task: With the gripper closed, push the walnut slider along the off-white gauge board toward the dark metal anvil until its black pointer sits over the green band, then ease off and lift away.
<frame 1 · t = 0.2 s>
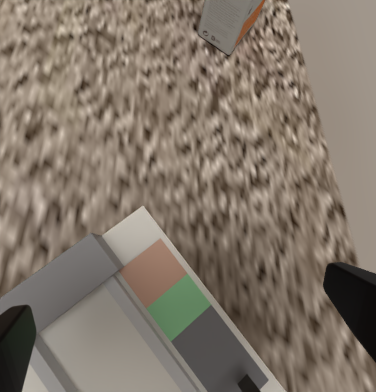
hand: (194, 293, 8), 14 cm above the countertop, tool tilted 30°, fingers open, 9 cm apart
gauge base: (143, 356, 20), on the countertop
skincare box: (227, 30, 28), on the countertop
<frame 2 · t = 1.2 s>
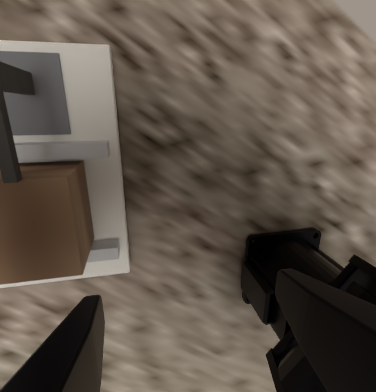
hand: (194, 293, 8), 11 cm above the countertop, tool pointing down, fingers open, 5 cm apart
slider: (31, 170, 12), point 4 cm above the countertop, slide at 0.0 cm
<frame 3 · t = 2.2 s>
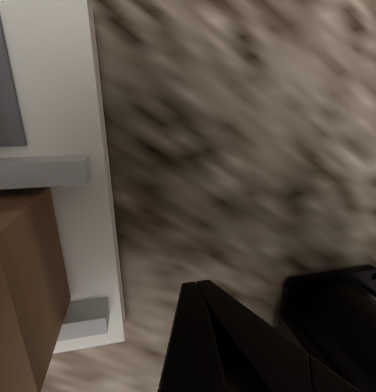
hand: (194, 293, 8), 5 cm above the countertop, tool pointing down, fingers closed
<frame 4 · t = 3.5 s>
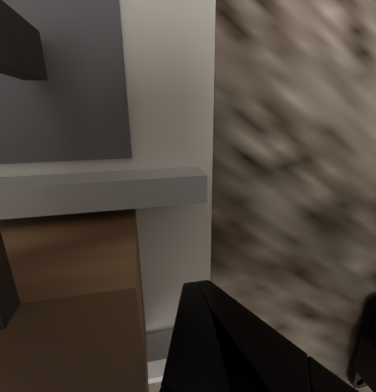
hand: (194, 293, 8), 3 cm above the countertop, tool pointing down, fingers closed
slider: (41, 248, 5), point 4 cm above the countertop, slide at 0.5 cm, touching gripper
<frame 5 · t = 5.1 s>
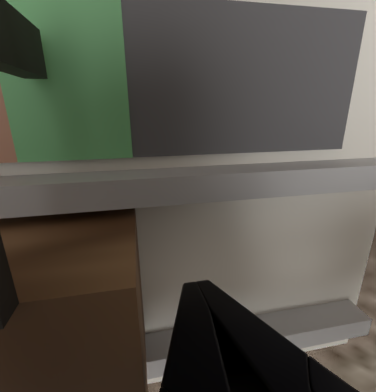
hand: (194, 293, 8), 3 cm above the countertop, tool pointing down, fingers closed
gauge base: (138, 214, 10), on the countertop
slider: (40, 247, 5), point 4 cm above the countertop, slide at 7.5 cm, touching gripper
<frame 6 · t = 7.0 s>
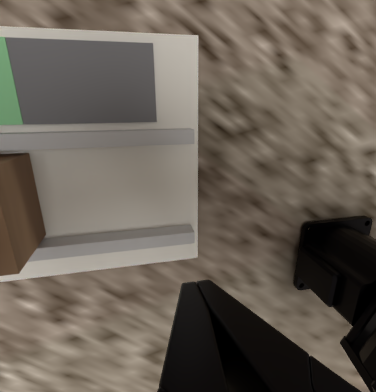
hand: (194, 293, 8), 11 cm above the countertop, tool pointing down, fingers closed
gauge base: (43, 164, 16), on the countertop
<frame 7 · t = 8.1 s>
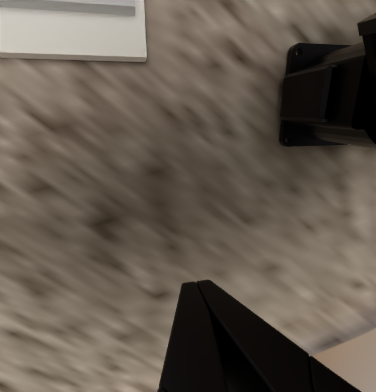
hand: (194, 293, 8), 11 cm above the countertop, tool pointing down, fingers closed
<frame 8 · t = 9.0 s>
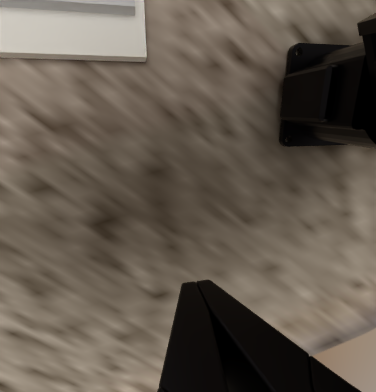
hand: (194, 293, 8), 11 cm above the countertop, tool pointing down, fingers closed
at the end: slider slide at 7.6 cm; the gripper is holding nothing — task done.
